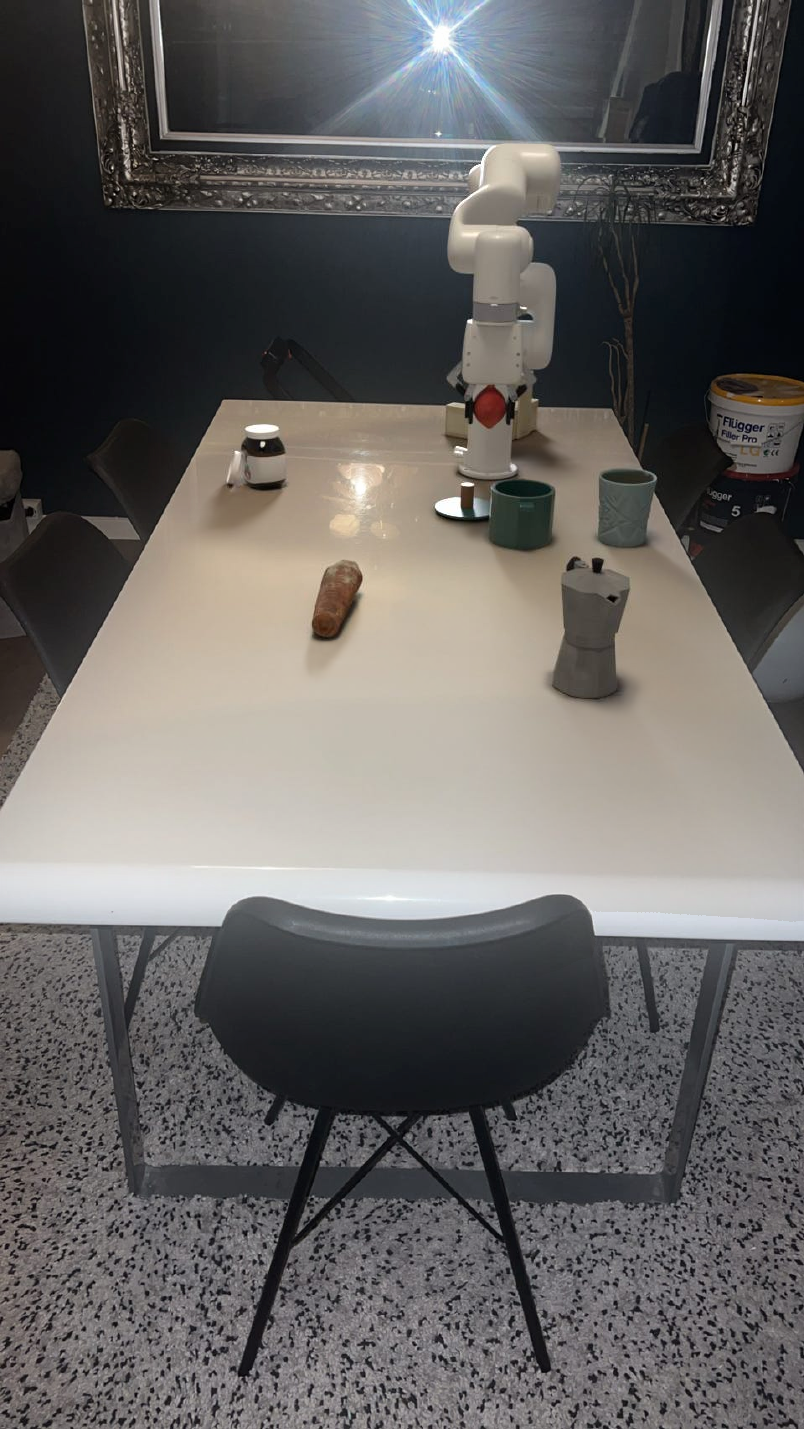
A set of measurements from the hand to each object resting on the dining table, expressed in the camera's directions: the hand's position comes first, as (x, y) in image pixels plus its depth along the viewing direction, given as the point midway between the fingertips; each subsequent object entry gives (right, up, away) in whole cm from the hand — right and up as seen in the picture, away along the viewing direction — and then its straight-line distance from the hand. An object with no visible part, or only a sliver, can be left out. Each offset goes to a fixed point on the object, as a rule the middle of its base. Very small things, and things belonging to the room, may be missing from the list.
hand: (489, 421), depth 180 cm
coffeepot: (+9, -46, -38) cm, 61 cm away
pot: (+7, -19, +10) cm, 22 cm away
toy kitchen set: (+7, +19, +77) cm, 80 cm away
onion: (0, -1, +1) cm, 1 cm away
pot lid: (-2, -11, +23) cm, 25 cm away
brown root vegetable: (-25, -36, -20) cm, 48 cm away
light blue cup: (+25, -19, +11) cm, 33 cm away
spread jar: (-46, -3, +38) cm, 60 cm away
